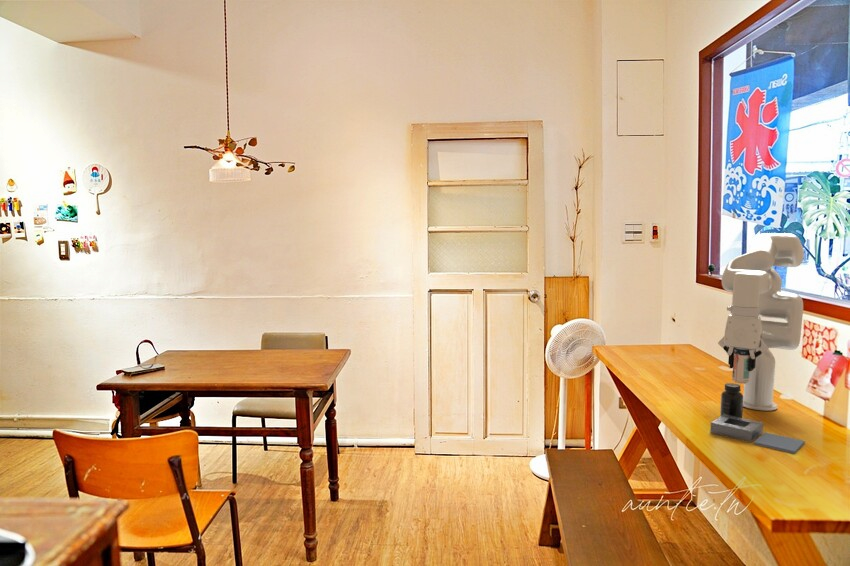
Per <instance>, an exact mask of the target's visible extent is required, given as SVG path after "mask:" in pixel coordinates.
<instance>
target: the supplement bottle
mask: <svg viewBox="0 0 850 566" xmlns="http://www.w3.org/2000/svg"><path fill="white" fill-rule="evenodd" d="M743 395H744V394H743V393H741V384H740V383H735V382H734V383H733V382H729V383H728V382H727V383H725V384H724V391H722V392H721V395H720V413H719V414H720V416H722V415H723V414H725V415H730V416H735V417H740V418H743V411H744V407H743ZM720 416H719V417H720Z"/></svg>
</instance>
